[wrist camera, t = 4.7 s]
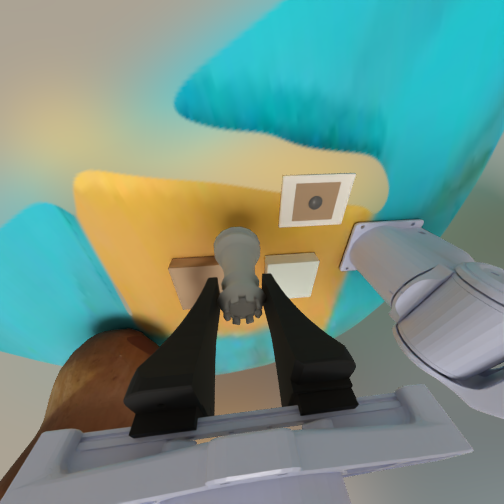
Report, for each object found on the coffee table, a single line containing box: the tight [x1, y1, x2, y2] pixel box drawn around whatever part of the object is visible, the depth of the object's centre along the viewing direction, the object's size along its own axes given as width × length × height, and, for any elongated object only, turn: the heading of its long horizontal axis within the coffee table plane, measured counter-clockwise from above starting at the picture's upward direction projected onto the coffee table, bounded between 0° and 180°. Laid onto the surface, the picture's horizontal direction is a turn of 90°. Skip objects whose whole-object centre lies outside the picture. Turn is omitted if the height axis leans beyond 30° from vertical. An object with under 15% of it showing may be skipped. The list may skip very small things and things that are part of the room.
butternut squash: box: [0, 328, 159, 501], centre depth 23 cm, size 14×13×25 cm
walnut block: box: [168, 256, 224, 310], centre depth 26 cm, size 8×8×2 cm
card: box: [278, 173, 356, 228], centre depth 21 cm, size 8×6×1 cm
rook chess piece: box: [214, 227, 266, 325], centre depth 15 cm, size 4×4×8 cm
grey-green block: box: [265, 253, 320, 298], centre depth 26 cm, size 7×7×2 cm
